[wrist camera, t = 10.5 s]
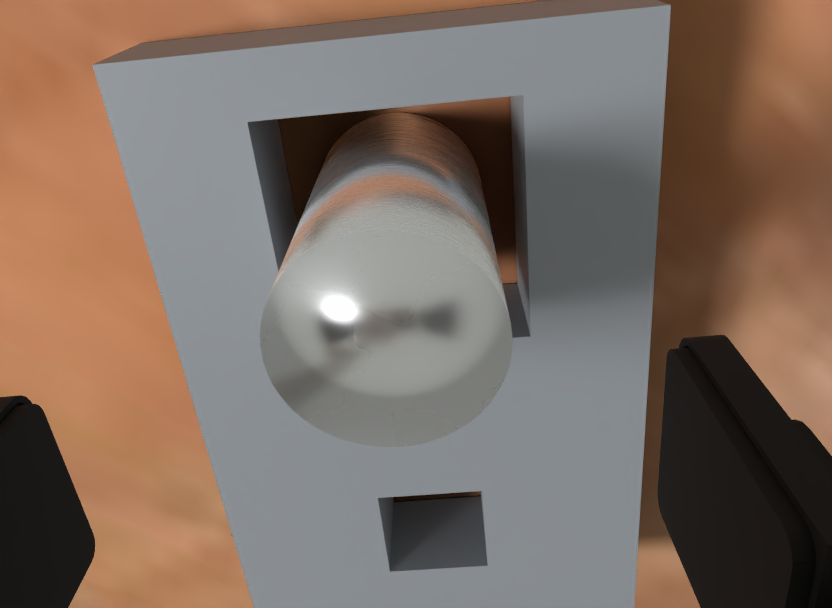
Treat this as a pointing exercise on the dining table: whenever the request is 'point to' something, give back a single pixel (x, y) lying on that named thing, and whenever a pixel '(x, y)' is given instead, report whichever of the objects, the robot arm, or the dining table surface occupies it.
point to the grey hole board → (526, 300)
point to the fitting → (390, 291)
